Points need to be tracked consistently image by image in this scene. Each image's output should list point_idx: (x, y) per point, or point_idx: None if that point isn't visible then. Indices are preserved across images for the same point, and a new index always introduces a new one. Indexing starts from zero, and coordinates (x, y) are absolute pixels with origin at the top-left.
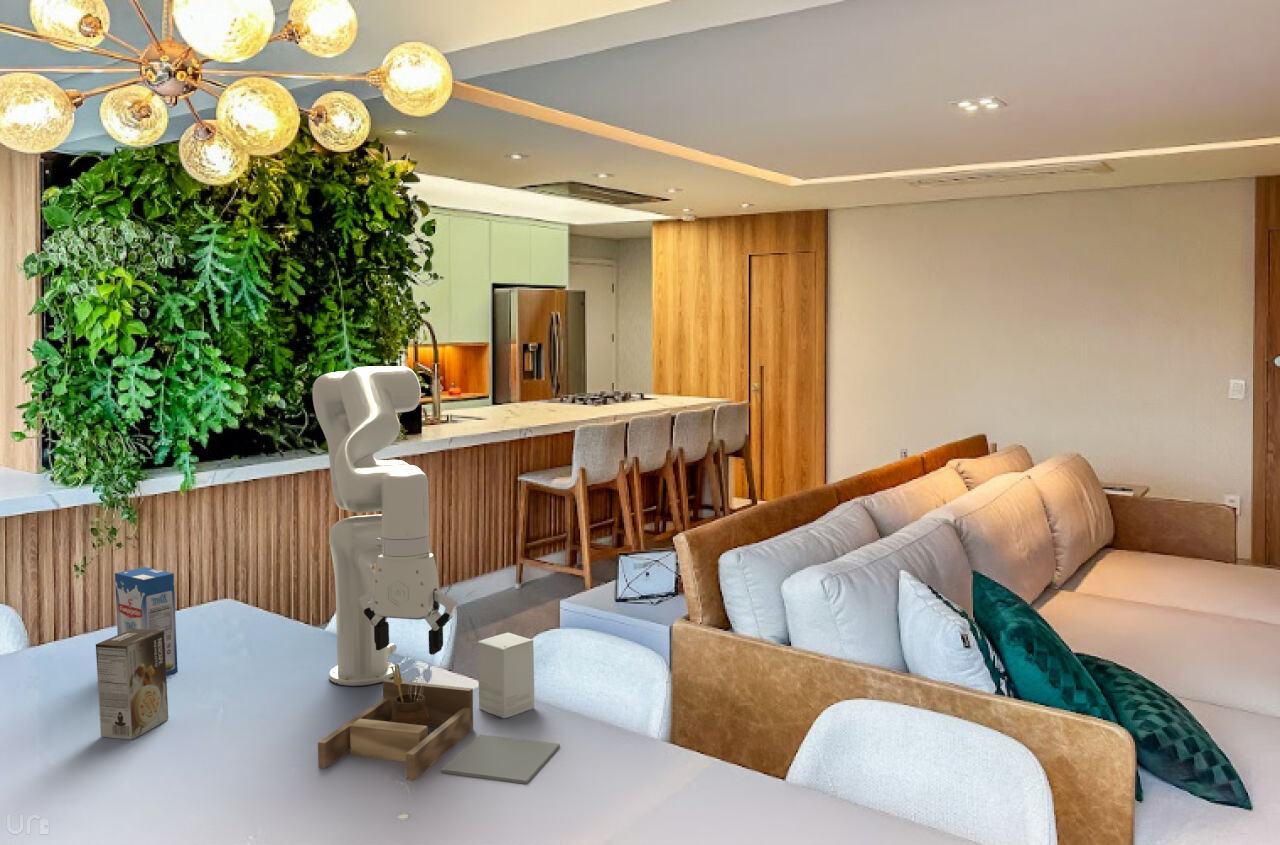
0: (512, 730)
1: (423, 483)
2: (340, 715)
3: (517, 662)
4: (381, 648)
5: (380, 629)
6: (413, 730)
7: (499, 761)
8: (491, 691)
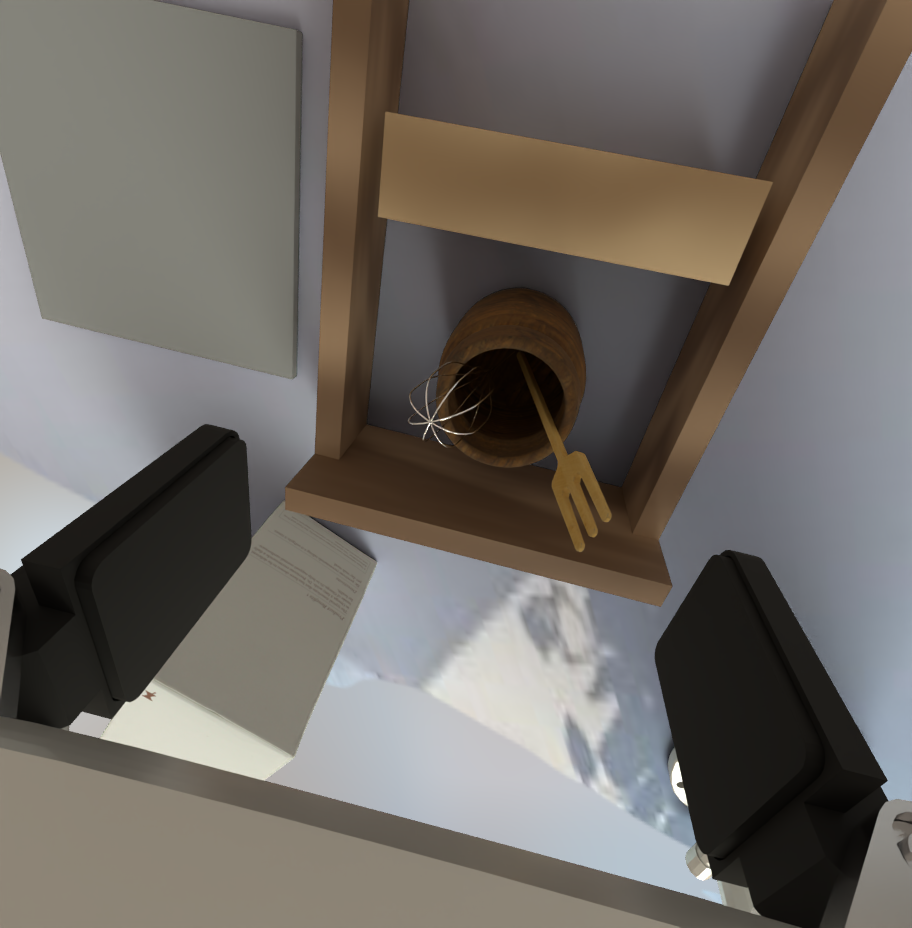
0: (230, 427)
1: None
2: (807, 534)
3: None
4: (706, 570)
5: (783, 739)
6: (422, 147)
7: (133, 149)
8: (300, 573)
